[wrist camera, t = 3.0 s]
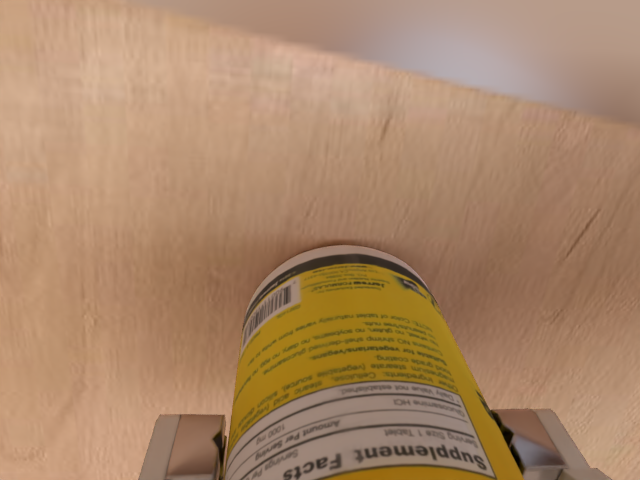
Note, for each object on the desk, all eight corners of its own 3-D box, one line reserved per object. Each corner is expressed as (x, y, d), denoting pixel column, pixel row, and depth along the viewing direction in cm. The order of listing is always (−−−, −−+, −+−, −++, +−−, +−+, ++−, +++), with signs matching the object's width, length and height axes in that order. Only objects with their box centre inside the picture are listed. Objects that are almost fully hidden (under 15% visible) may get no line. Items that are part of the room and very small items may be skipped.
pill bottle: (409, 389, 16) (580, 946, 7) (240, 382, 16) (168, 995, 6) (455, 244, 14) (871, 868, 4) (250, 227, 13) (141, 944, 3)
